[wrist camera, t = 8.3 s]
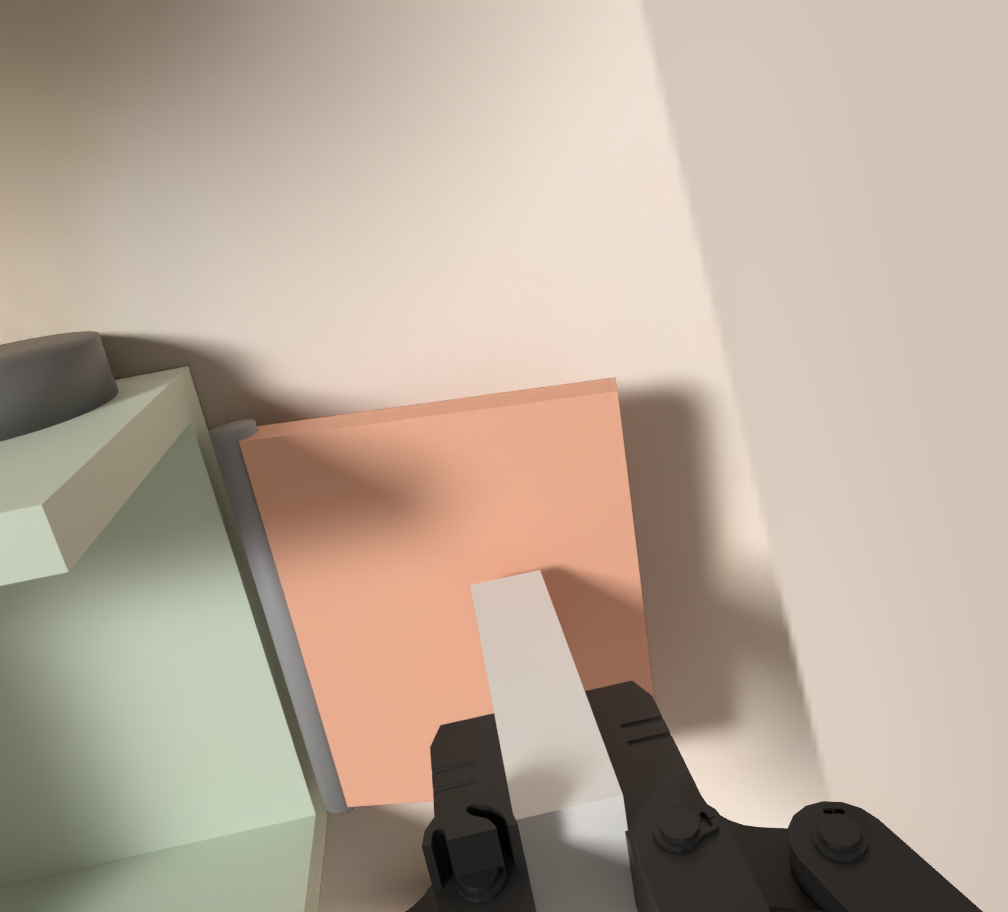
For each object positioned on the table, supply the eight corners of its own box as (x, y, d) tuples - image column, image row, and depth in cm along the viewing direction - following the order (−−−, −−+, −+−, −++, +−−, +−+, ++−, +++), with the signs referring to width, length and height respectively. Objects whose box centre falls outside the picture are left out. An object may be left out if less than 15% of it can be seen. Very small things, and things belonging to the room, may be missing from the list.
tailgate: (200, 437, 17) (616, 381, 16) (230, 413, 19) (612, 361, 17) (319, 815, 21) (665, 792, 20) (336, 769, 22) (659, 745, 21)
